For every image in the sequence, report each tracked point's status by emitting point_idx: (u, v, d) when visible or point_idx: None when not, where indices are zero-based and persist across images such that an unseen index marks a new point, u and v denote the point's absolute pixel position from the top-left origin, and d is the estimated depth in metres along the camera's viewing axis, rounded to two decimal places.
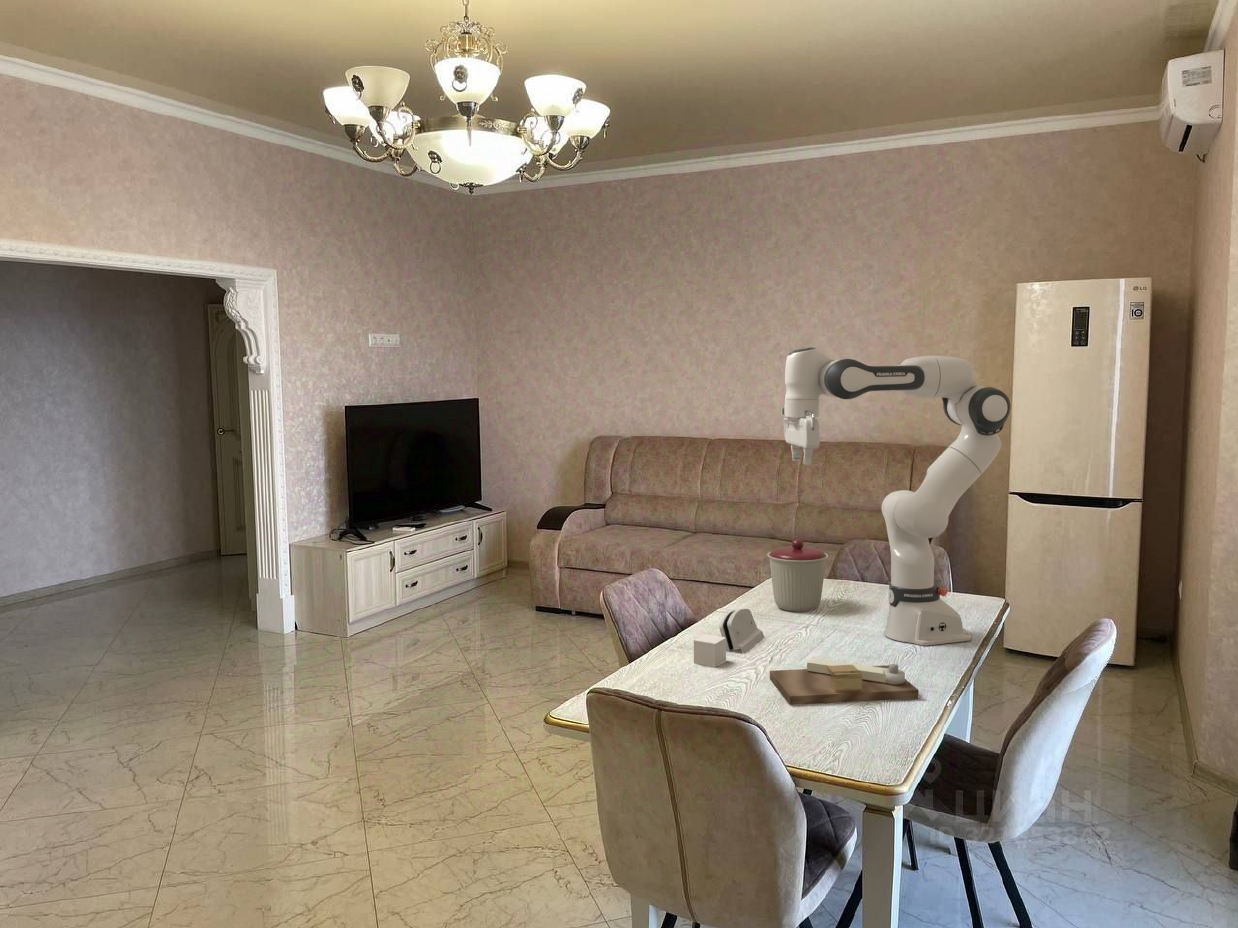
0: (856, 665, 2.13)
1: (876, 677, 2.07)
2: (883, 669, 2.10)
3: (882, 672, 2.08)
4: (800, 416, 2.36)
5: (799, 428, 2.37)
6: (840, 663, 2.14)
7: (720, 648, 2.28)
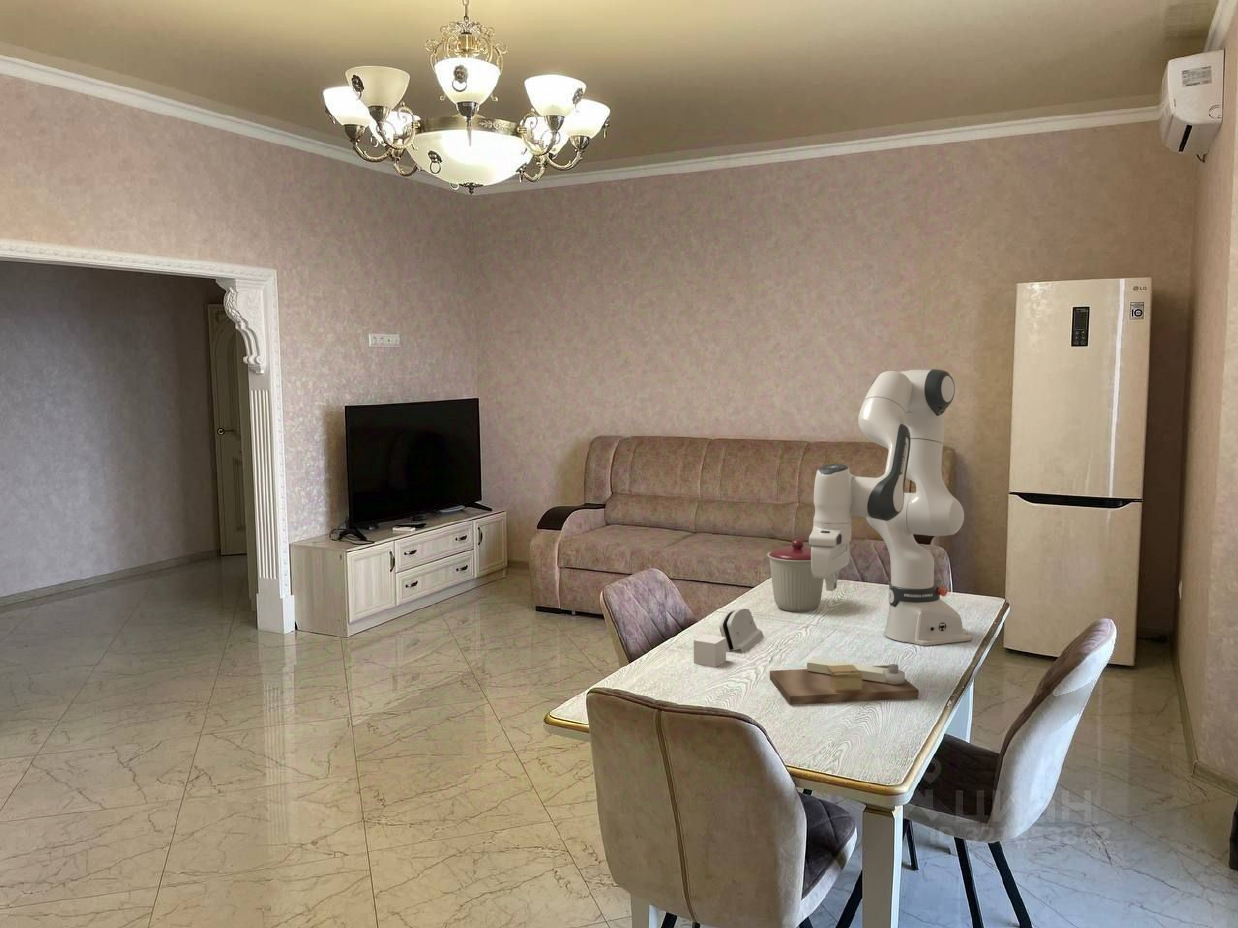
0: (856, 665, 2.13)
1: (876, 677, 2.07)
2: (883, 669, 2.10)
3: (882, 672, 2.08)
4: None
5: (841, 550, 2.21)
6: (840, 663, 2.14)
7: (720, 648, 2.28)
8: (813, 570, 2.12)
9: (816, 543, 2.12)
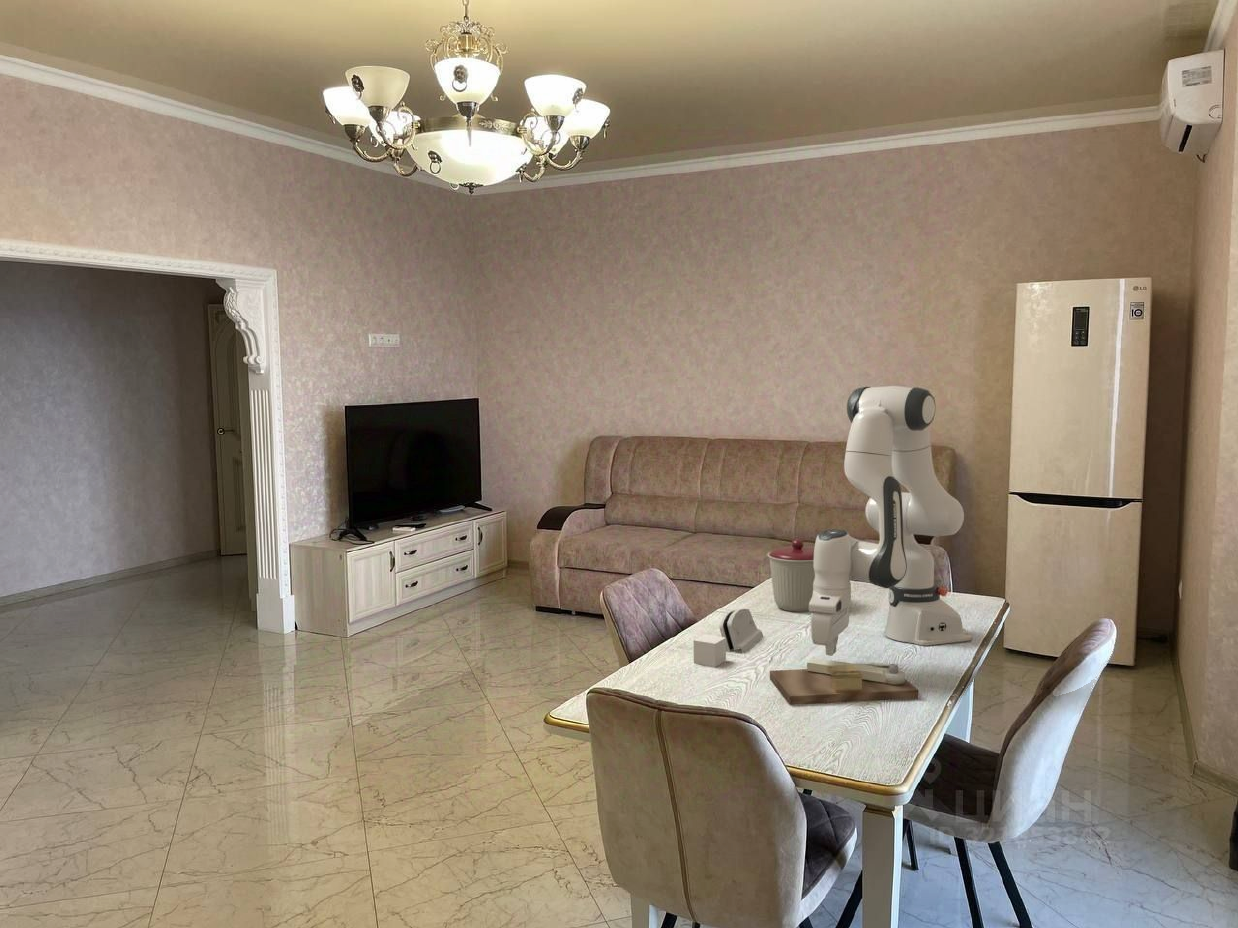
0: (856, 665, 2.13)
1: (876, 677, 2.07)
2: (883, 669, 2.10)
3: (882, 672, 2.08)
4: None
5: (841, 614, 2.23)
6: (840, 663, 2.14)
7: (720, 648, 2.28)
8: (813, 637, 2.13)
9: (816, 610, 2.14)
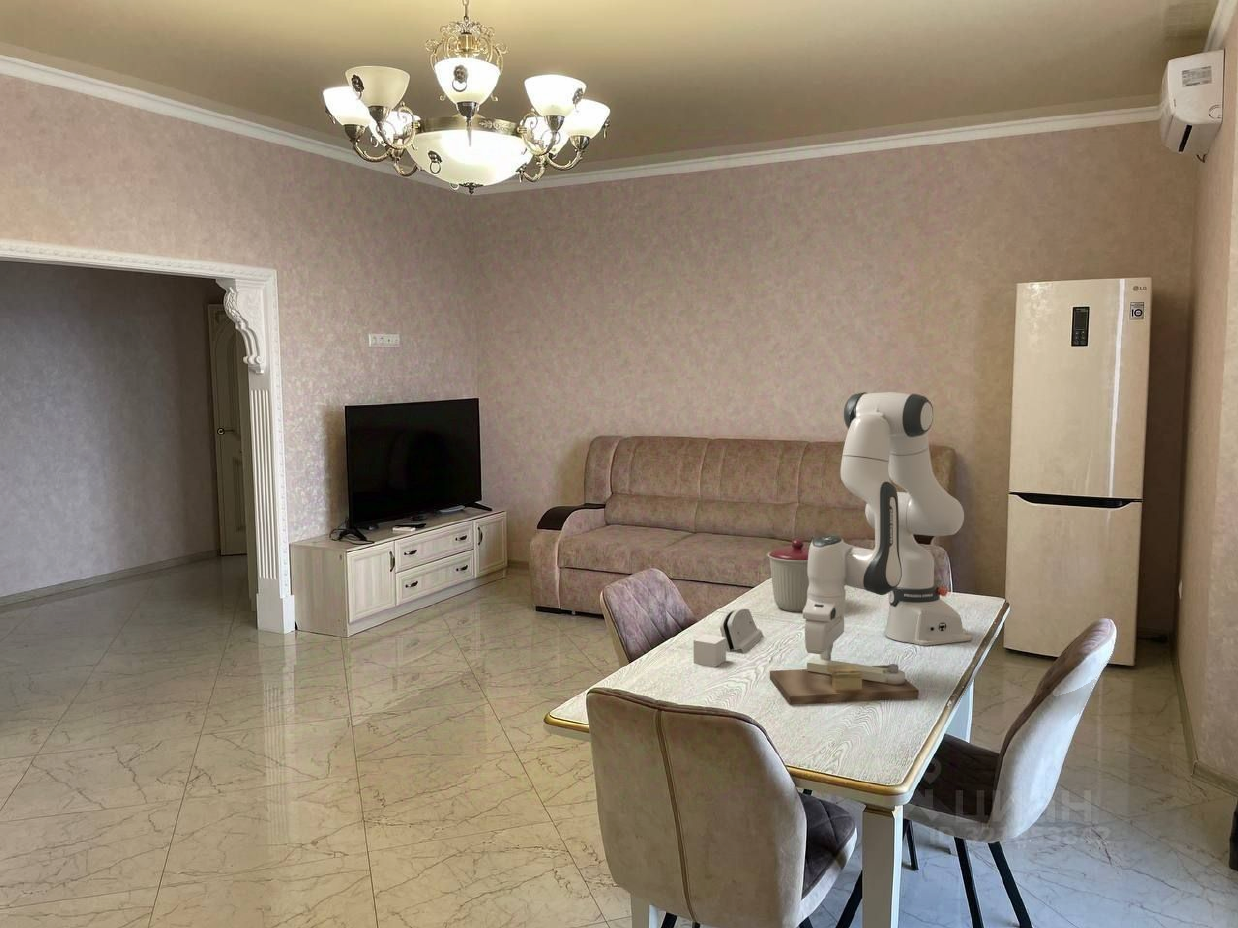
0: (856, 665, 2.13)
1: (876, 677, 2.07)
2: (883, 669, 2.10)
3: (882, 672, 2.08)
4: None
5: (836, 621, 2.20)
6: (840, 663, 2.14)
7: (720, 648, 2.28)
8: (807, 645, 2.10)
9: (810, 618, 2.10)
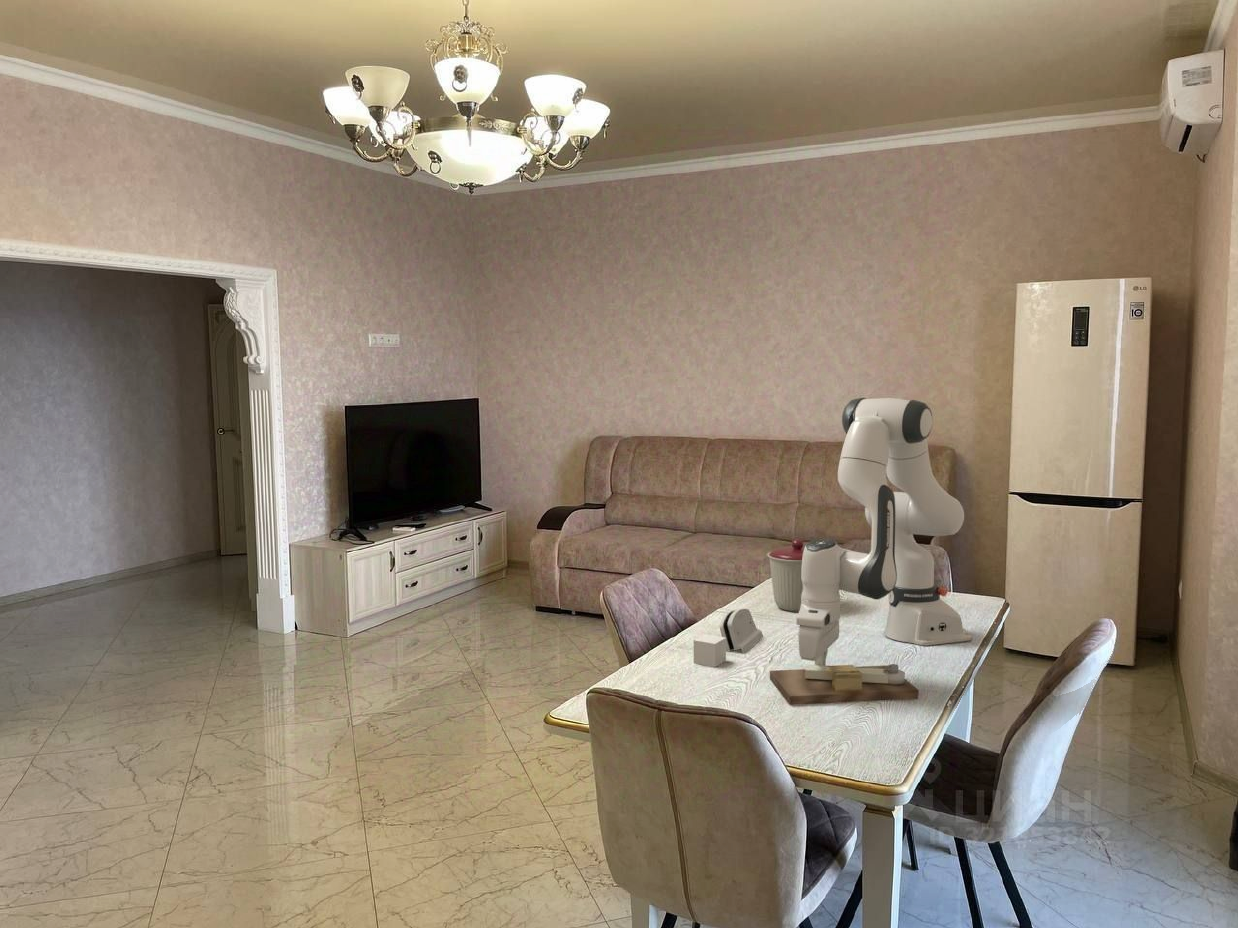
0: None
1: (879, 679, 2.06)
2: (881, 670, 2.09)
3: (883, 673, 2.07)
4: None
5: (830, 626, 2.16)
6: None
7: (720, 648, 2.28)
8: (801, 651, 2.06)
9: (804, 623, 2.06)
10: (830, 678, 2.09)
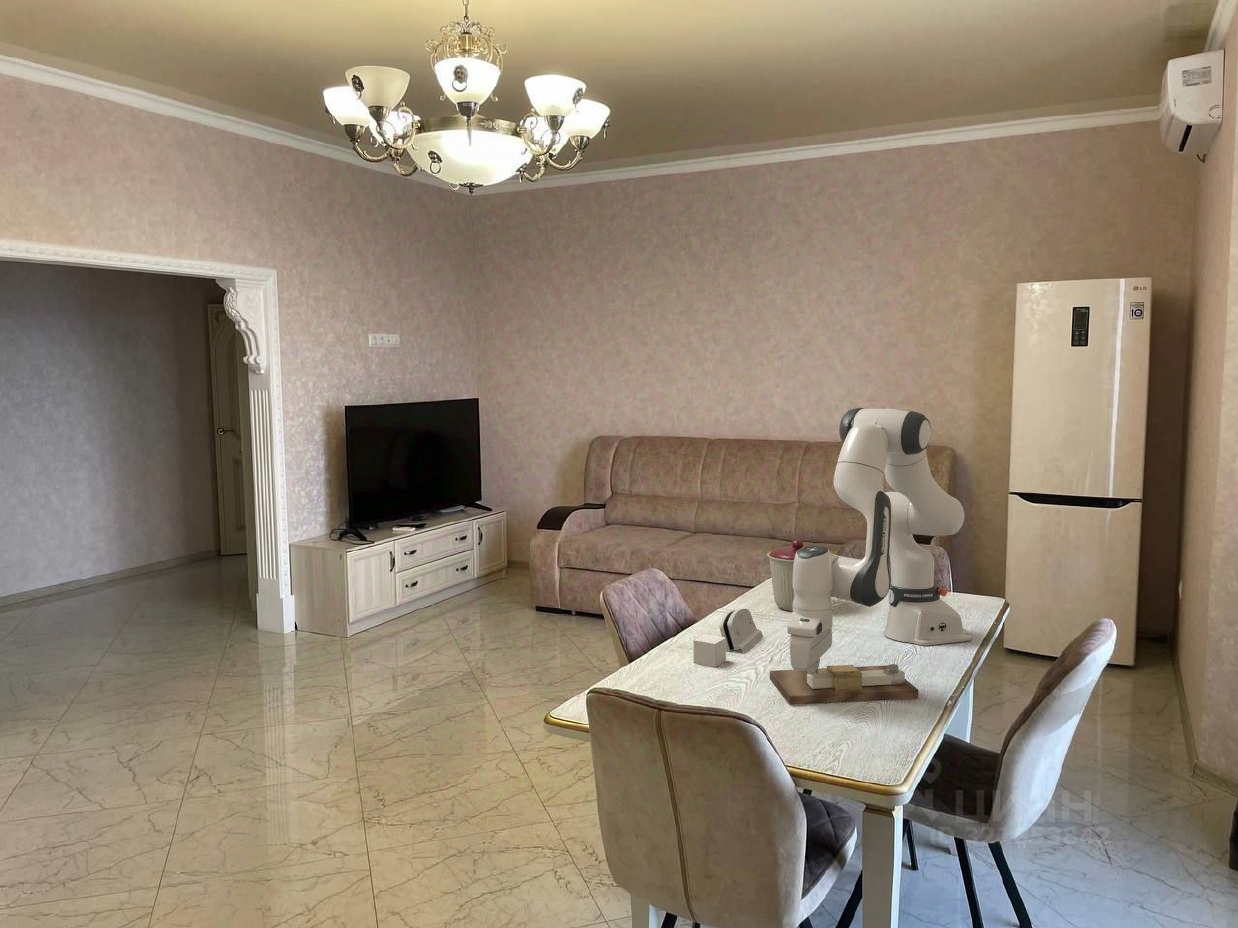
0: None
1: (883, 680, 2.05)
2: (881, 671, 2.08)
3: (886, 674, 2.06)
4: None
5: None
6: None
7: (720, 648, 2.28)
8: (792, 662, 2.00)
9: (795, 633, 2.01)
10: None
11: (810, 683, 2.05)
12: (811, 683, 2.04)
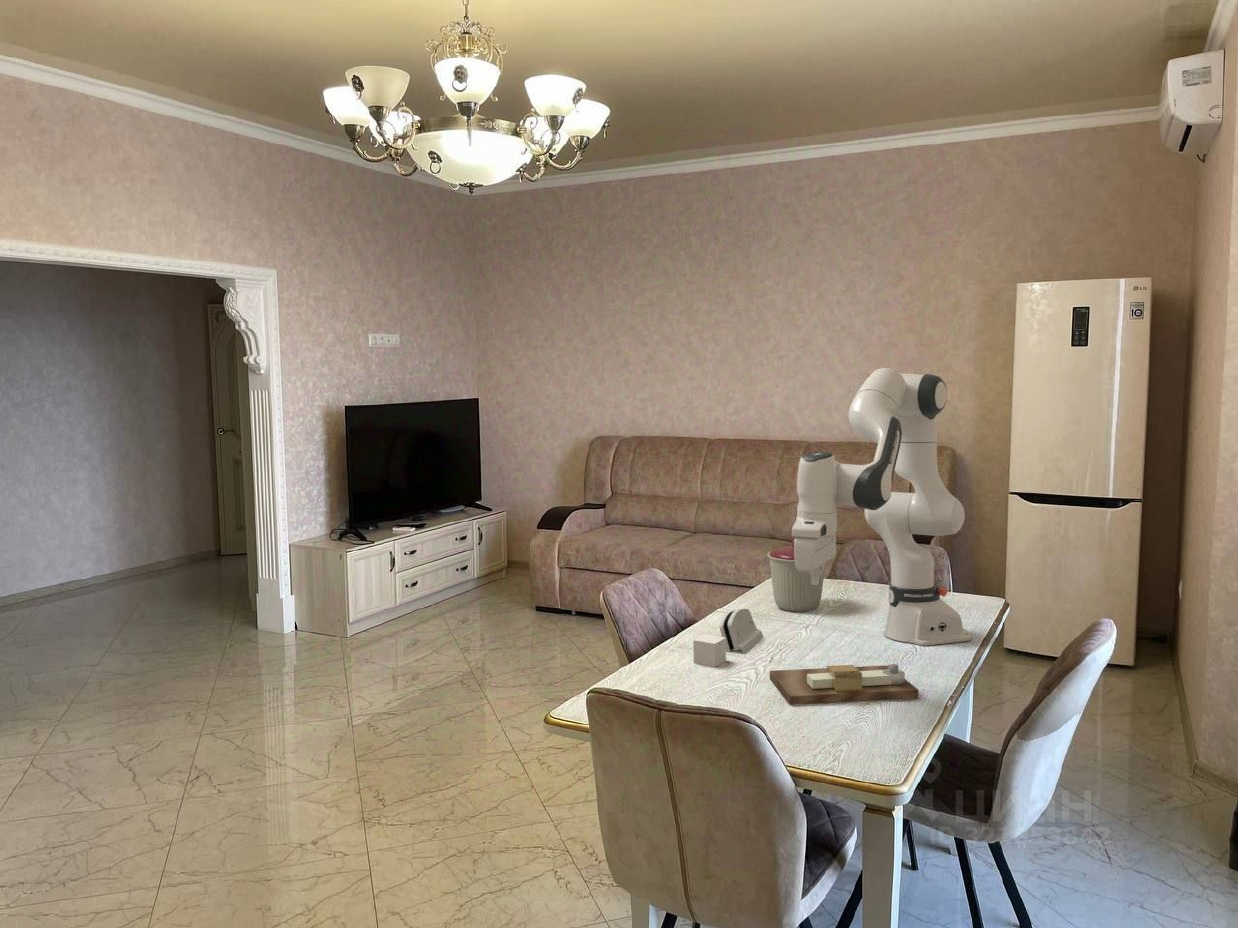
0: None
1: (883, 680, 2.05)
2: (881, 671, 2.08)
3: (886, 674, 2.06)
4: None
5: (827, 541, 2.11)
6: None
7: (720, 648, 2.28)
8: (796, 563, 2.01)
9: (799, 534, 2.01)
10: None
11: (810, 683, 2.05)
12: (811, 683, 2.04)
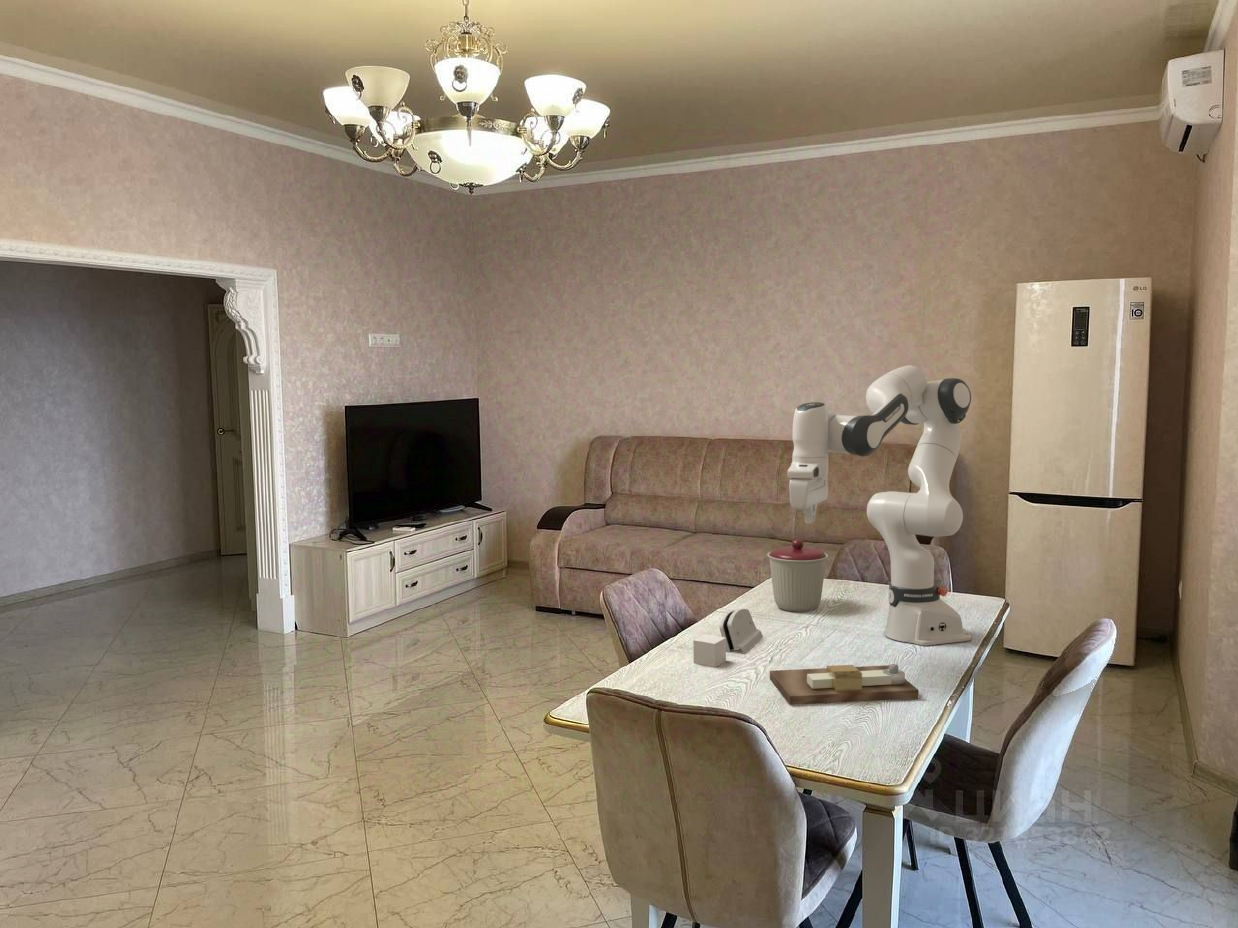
0: None
1: (883, 680, 2.05)
2: (881, 671, 2.08)
3: (886, 674, 2.06)
4: None
5: (819, 485, 2.32)
6: None
7: (720, 648, 2.28)
8: (791, 501, 2.22)
9: (794, 476, 2.23)
10: None
11: (810, 683, 2.05)
12: (811, 683, 2.04)
